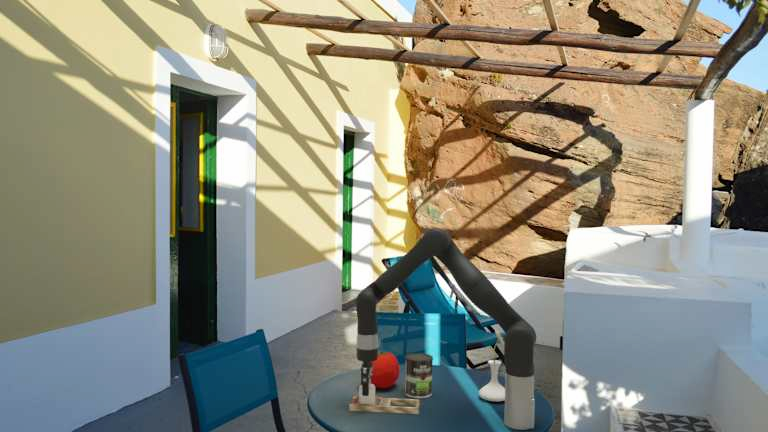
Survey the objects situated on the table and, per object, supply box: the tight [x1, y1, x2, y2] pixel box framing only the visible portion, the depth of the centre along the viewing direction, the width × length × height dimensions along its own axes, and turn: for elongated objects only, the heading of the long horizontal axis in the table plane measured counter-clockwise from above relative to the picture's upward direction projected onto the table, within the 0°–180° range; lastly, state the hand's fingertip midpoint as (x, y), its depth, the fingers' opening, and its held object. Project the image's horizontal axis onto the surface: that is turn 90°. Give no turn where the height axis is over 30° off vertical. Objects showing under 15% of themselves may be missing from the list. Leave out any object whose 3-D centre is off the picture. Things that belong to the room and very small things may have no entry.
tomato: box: [372, 348, 401, 389], centre depth 234 cm, size 16×14×14 cm
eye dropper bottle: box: [358, 379, 376, 404], centre depth 214 cm, size 4×6×12 cm
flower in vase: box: [477, 329, 505, 402], centre depth 224 cm, size 13×11×25 cm
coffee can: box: [404, 352, 434, 399], centre depth 228 cm, size 10×10×14 cm
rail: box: [348, 395, 421, 415], centre depth 213 cm, size 24×8×2 cm, turn 84°
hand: (367, 391), depth 214 cm, fingers open, 8 cm apart
